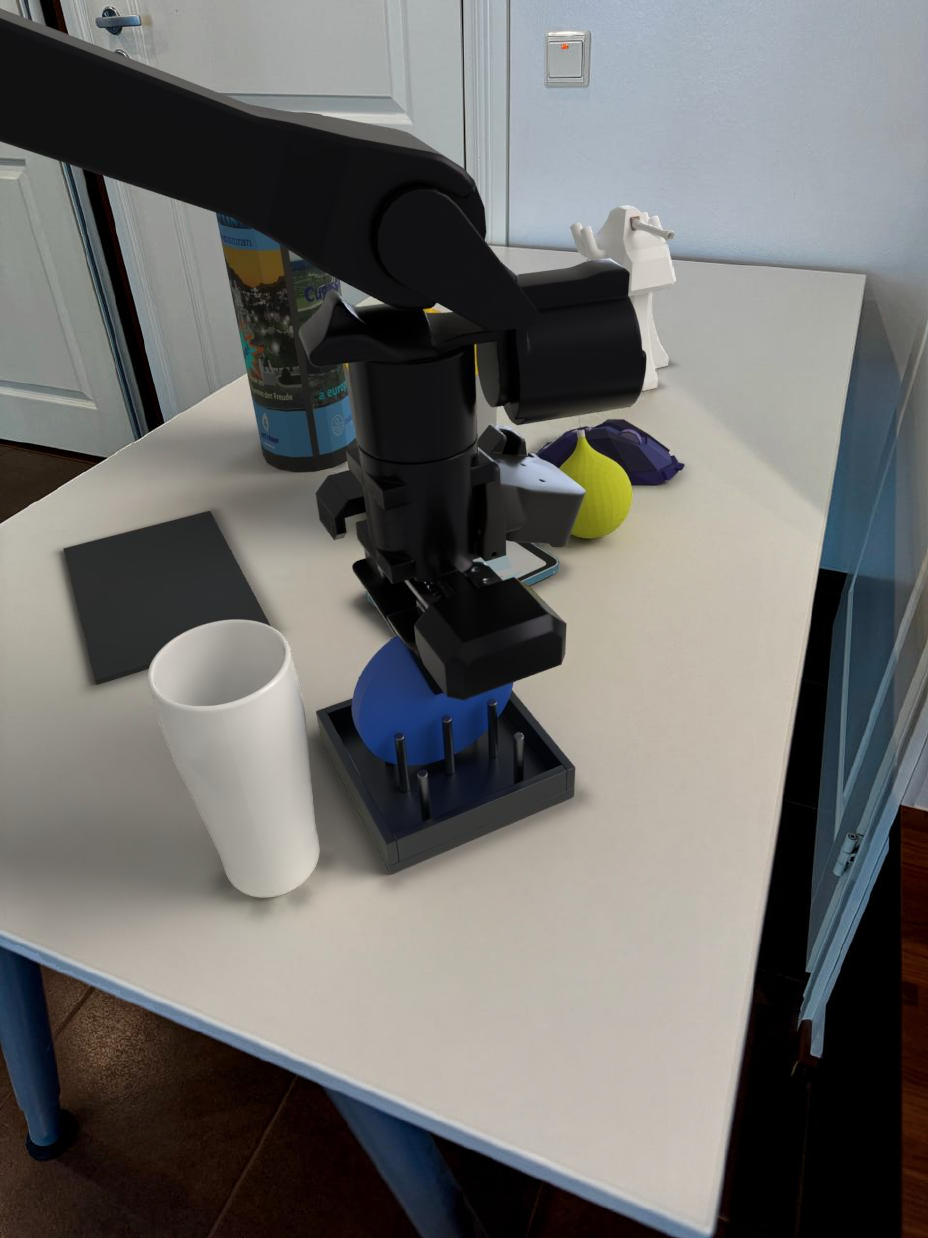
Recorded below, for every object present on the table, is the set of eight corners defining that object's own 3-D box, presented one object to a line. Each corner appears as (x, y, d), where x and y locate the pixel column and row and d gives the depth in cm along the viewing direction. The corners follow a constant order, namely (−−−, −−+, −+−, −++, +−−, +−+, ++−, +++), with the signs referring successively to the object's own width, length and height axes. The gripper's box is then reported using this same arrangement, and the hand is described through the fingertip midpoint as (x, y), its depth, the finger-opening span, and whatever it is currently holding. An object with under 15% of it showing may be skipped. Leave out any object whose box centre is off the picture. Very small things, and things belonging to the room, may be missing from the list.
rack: (574, 797, 53) (577, 734, 50) (390, 875, 49) (381, 812, 46) (483, 681, 62) (481, 621, 58) (320, 739, 58) (309, 678, 54)
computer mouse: (556, 430, 93) (558, 394, 90) (696, 454, 87) (701, 416, 85) (522, 468, 86) (522, 431, 84) (671, 497, 81) (676, 458, 78)
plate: (516, 729, 56) (512, 604, 49) (370, 789, 52) (346, 663, 46) (507, 718, 56) (502, 593, 50) (363, 776, 53) (339, 650, 47)
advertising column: (256, 433, 95) (193, 117, 77) (359, 420, 97) (322, 108, 78) (258, 481, 86) (188, 137, 68) (371, 466, 88) (333, 126, 70)
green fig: (565, 505, 80) (569, 402, 74) (640, 521, 78) (650, 415, 72) (534, 543, 75) (535, 436, 69) (612, 562, 73) (620, 452, 67)
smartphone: (565, 562, 71) (413, 633, 64) (564, 572, 72) (414, 643, 65) (507, 526, 76) (360, 588, 69) (507, 536, 77) (361, 598, 70)
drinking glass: (279, 935, 46) (220, 731, 37) (188, 880, 49) (112, 679, 40) (357, 845, 51) (322, 643, 42) (269, 799, 54) (218, 602, 45)
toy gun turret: (610, 403, 98) (621, 231, 87) (552, 364, 107) (556, 205, 97) (699, 382, 101) (720, 215, 90) (635, 346, 111) (648, 191, 100)
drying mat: (96, 684, 63) (94, 680, 63) (64, 551, 77) (63, 548, 77) (271, 630, 67) (271, 626, 67) (210, 514, 82) (210, 510, 81)
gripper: (678, 476, 37) (646, 737, 47) (479, 343, 51) (485, 566, 60) (442, 546, 34) (459, 814, 43) (295, 383, 47) (332, 614, 57)
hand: (436, 683), depth 51 cm, fingers closed on plate, 1 cm apart
